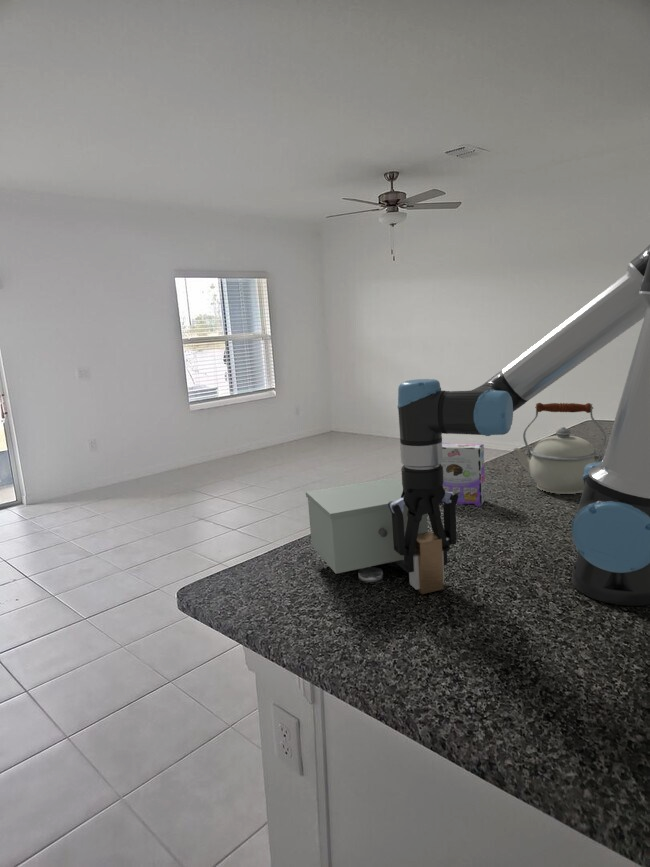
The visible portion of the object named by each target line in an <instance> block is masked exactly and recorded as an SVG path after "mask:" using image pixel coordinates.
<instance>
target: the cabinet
mask: <svg viewBox="0 0 650 867" xmlns="http://www.w3.org/2000/svg"><path fill="white" fill-rule="evenodd" d="M402 492H403V486H402V481H400V480H398V479H396V478H394V477H390V478H389V477H388V478H382V479H377V480H370V481H365V482H358V483H351V484H346V485H341V486H340V485H339V486H332V487H327V488H326V487H325V488H321V489H314V490H309V491H305V497H306V498H307V505H308V518H309V527H310V541H311V547H312V548H313V549H314V550H315V552H316V553H318V555H319V556H320V557H321V558H322V559H323V561H324V562H325V563H326V564H327V565H328V567H329V568H330V569H331V570H332V572H334V573H335V574H336V575H337V574H342V573H346V572H350V571H351V572H352V571H357V570H361V569H363V568H367V567H374V566H379V565H384V564H389V563H393V562H394V563H395V561H399V560H403V559H404V555H400V554H399V553H397V552H396V551H395V550H394V542H393V527H392V513H391V511H390V509H389V506H388V503H389V502H390V501H393V502H395V501H397V500H398V499H400V498H401V495H402ZM403 508H404V511H403V512H402V514H403V519H404V536H405V533H406V527H407V521H408V516H407V513H408V507H407V506H406V505H405V504H404V506H403ZM428 531H429V529H428V514H424V515H422V520H421V521H420V523H419V529H418V533H423V532H428Z"/></svg>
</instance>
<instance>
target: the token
mask: <svg viewBox="0 0 650 867" xmlns="http://www.w3.org/2000/svg"><path fill="white" fill-rule="evenodd" d="M357 574H358V579H359V580H360V581H362V582H365V583H374V582H378V581H381V580H383V578H384V572H383V569H381V568H379V567H374V566H370V567H366V568H361V569H358V572H357Z"/></svg>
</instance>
